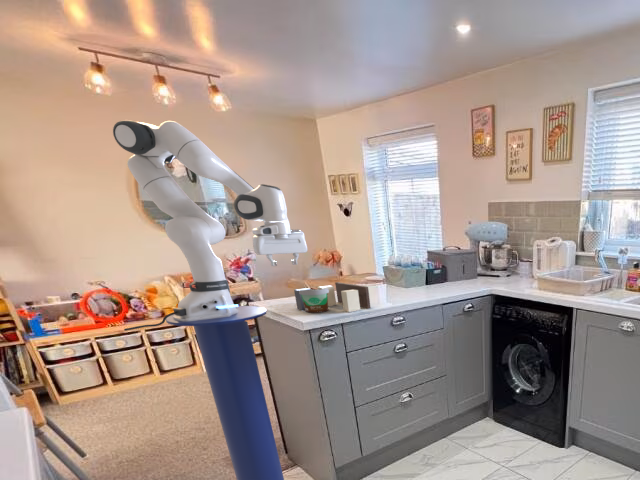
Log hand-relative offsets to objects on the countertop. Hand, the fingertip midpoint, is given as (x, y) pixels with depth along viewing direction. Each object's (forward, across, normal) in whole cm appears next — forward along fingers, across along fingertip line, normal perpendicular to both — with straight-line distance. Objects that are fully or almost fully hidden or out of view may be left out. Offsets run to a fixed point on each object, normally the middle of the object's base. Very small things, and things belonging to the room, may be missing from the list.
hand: (284, 265), depth 170 cm
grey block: (+21, -11, -10) cm, 26 cm away
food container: (+21, -11, 0) cm, 24 cm away
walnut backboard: (+21, -29, 0) cm, 36 cm away
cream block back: (+21, -22, -9) cm, 32 cm away
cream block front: (+21, -22, +10) cm, 32 cm away
